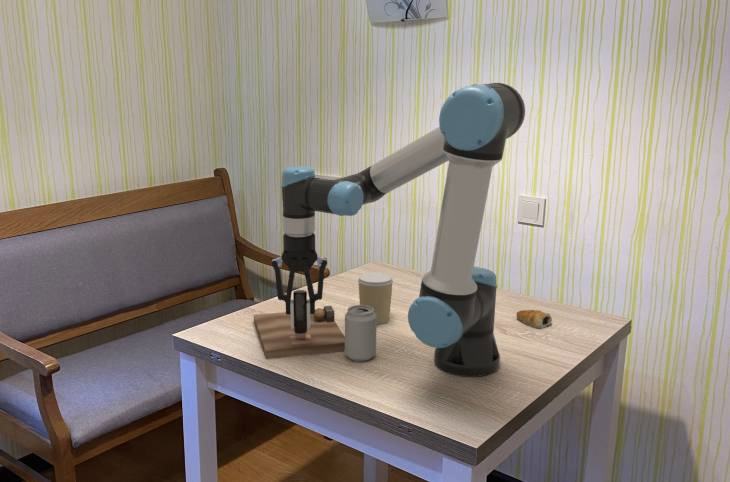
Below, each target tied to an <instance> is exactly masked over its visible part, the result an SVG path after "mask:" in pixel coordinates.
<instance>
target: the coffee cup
mask: <svg viewBox="0 0 730 482" xmlns="http://www.w3.org/2000/svg"><path fill="white" fill-rule="evenodd" d="M357 282H358V295H359V297H358V298H359V305H366V306H370V307H372V308H373V309H374V313H375V314H376V315H377V317H376V325H384V324H385V323H388V322H389V321H390V315H391V314H390V313H391V305H392V293H393V283H394V279H393V276H392V275H391V274H388V273H385V272H381V271H380V272H379V271H371V272H365V273H362V274H360V275H359V276H358V279H357Z"/></svg>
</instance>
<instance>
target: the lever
mask: <svg viewBox="0 0 730 482" xmlns="http://www.w3.org/2000/svg"><path fill="white" fill-rule="evenodd" d="M292 293H293V296H292V297H293V298H292V299H293V301H294V332H295V333H296V339H306V332H307V299H308V291H307V290H303V289H298V290H294V291H292Z"/></svg>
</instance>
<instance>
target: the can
mask: <svg viewBox="0 0 730 482" xmlns="http://www.w3.org/2000/svg"><path fill="white" fill-rule="evenodd" d="M376 317H377V315H376V314H375V313H374V309H373V308H372V307H370V306H366V305H360V304H358V305H357V304H356V305H350V306H349V307H348V308H347V312H346V313H345V315H344V336H345V350H344V354H345V356H346V357H348V358H349V360H352V361H355V362H365V361H369V360H371V359H372V358H373V357H375V356H376V355H377V324H376Z"/></svg>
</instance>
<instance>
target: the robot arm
mask: <svg viewBox="0 0 730 482" xmlns="http://www.w3.org/2000/svg"><path fill="white" fill-rule="evenodd" d="M525 117H526V105H525V102H524V99H523V97H522V96H521V94H520V93H519V92H518V90H517V89H515V88H514V87H512V86H510V85H509V84H507V83H502V82H490V83H482V84H481V83H480V84H477V83H474V84H469V85H468V84H467V85H465V86H463V87H460V88H459V89H457V90H455V91H453V92H452V93H451V94H450V95H449V96H448V97H447V98H446V99H445V101H444V102H443V104H442V107H441V109H440V112H439V116H438V118H439V119H438V123H439V124H438V125H439V126H438V127H436V128H435V129H433V130H430V131H429V132H428V133H426V134H424V135H422V136H421V137H419V138H417V139H416V140H414V141H411V142H410V143H408V144H407V145H405V146H404V147H401V148H400V149H398V150H397V151H394V152H392V153H391V154H389V155H387V156H386V157H384V158H383V159H381V160H379V161H377V162H375V163H373V164H372V165H370V166H368V167H367V168H365V169H363V170H361V171H359V172H358V173H354V174H352V175H351V174H350V175H346V176H344V177H339V178H336V179H327V178H319V177H316V174H315V173H316V172H315V169H314V168H313V167H310V166H305V165H304V166H303V165H300V166H299V165H296V166H295V165H293V166H288V167H285V168H284V169H282V172H281V186H280V188H281V200H282V232H283V235H282V243H283V251H282V252H281V256H279V257H277V258H276V257H274V258H271V259H272V260H271V266H272V268H273V270H274V275H275V285H276V295H277V300H279V301H283V302H284V303H285V312H286V314H287V315H291V329H294V301H293V298H292V293H293V287H294V280H295V275H296V274H295V273H297V272H302V273H304V278H305V283H306V286H307V287H306V288H307V295H308V298H307V328H310V314H314V313H315V309H316V301H321V300H322V299H323V292H324V291H323V290H324V279H325V278H324V277H325V270H326V267H327V265H328V258H326V257H320V256H319V255H318V253H317V251H316V234H315V232H316V212H317V213H318V212H320V213H326V214H331V215H336V216H341V217H343V216H346V217H352V216H355V215H357V214H358V213H359V211H360V210H361V209H362V206H364V205H367V204H369V203H370V204H371V203H375V202H376V201H379V200H381V199H382V198H383V197H384V196H385V195H387V194H388V193H391V192H393V191H394V190H395V189H397V188H400V187H402V186H403V185H405V184H406V185H407V183H409V182H411V181H413V180H415V179H417V178H419V177H420V176H422V175H424V174H426V173H428V172H430V171H433V170H434V169H436V168H438V167H439V166H441V165H443V164H445V163H446V162H448V166H447V172H446V178H445V184H444V188H443V189H444V190H443V196H442V202H441V208H440V213H439V219H438V225H437V231H436V238H435V242H434V250H433V255H432V261H431V267H430V270H429V271H428V272H426V273H424V274H423V275H422V279H421V284H420V289H419V295H418V298H416V299H414V300H413V302H412V304H411V305H409V308H408V313H407V321H408V326H409V328H410V330H411V332H413V334H414V335H415V338H417V339H418V340H419V341H420V342H421V343H423V344H424V345H426V346H428V347H430V348H435V349H434V354H433V356H434V357H433V362H434V365H435V367H437V368H438V369H439V370H441V371H443V372H446V373H447V374H451V375H455V376H460V377H468V378H469V377H484V376H488V375H490V374H493V373H495V372H496V371H498V369H499V368H500V364H501V363H500V361H501V360H500V359H501V356H500V353H499V352H500V351H499V349H498V345H497V341H496V337H495V334H494V331H495V329H494V328H495V315H496V299H497V288H498V284H497V275H496V273H495V272H494V271H493V270H491V269H487V268H485V267H484V268H483V267H479V266H475V263H476V257H477V251H478V246H479V240H480V236H481V229H482V226H483V225H482V224H483V219H484V215H485V214H484V213H485V209H486V202H487V198H488V193H489V186H490V181H491V177H492V171H493V167H494V166H495V165H497V164H498V163H500V162H502V161H503V158H504V150H505V147H506V146H505V145H506V140H507V139H509V138H511V137H512V136H514V135H515V134H516V133H517V132H519V130H520V128H521V127H522V125H523V124H524V120H525ZM316 262H317V264H316ZM283 263H284V264H285V265H286V267H287V268H288V270H289V274H288V281H287V288H286V293H284V287H283V277H282V269H281V268H282V265H283ZM314 264H316V265H317V267H319V268H318V278H317V279H318V280H317V292H316V293H315V290H314V285H313V280H312V279H313V278H312V275H311V268H312V267H313V265H314Z"/></svg>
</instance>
